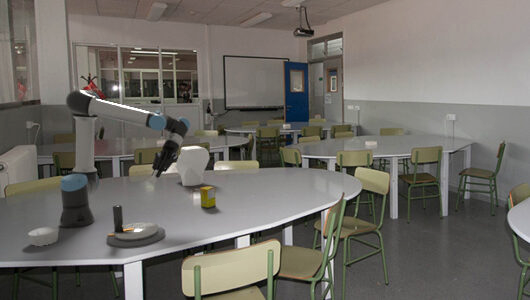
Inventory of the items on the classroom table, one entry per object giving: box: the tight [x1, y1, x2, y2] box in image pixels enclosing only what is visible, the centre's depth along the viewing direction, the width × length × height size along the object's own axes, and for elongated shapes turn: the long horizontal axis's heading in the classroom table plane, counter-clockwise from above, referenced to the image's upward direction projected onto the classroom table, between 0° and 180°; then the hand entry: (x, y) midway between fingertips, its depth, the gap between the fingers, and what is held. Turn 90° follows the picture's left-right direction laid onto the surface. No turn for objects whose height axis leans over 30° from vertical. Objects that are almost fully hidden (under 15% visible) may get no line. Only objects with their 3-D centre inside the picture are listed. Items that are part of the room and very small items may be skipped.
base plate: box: [106, 226, 166, 249], centre depth 169 cm, size 24×24×2 cm
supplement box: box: [199, 185, 217, 210], centre depth 214 cm, size 6×6×11 cm
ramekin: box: [27, 226, 60, 247], centre depth 165 cm, size 11×11×5 cm
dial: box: [112, 204, 159, 241], centre depth 168 cm, size 18×18×13 cm
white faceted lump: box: [174, 145, 211, 187], centre depth 278 cm, size 21×27×26 cm
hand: (152, 182), depth 185 cm, fingers closed
